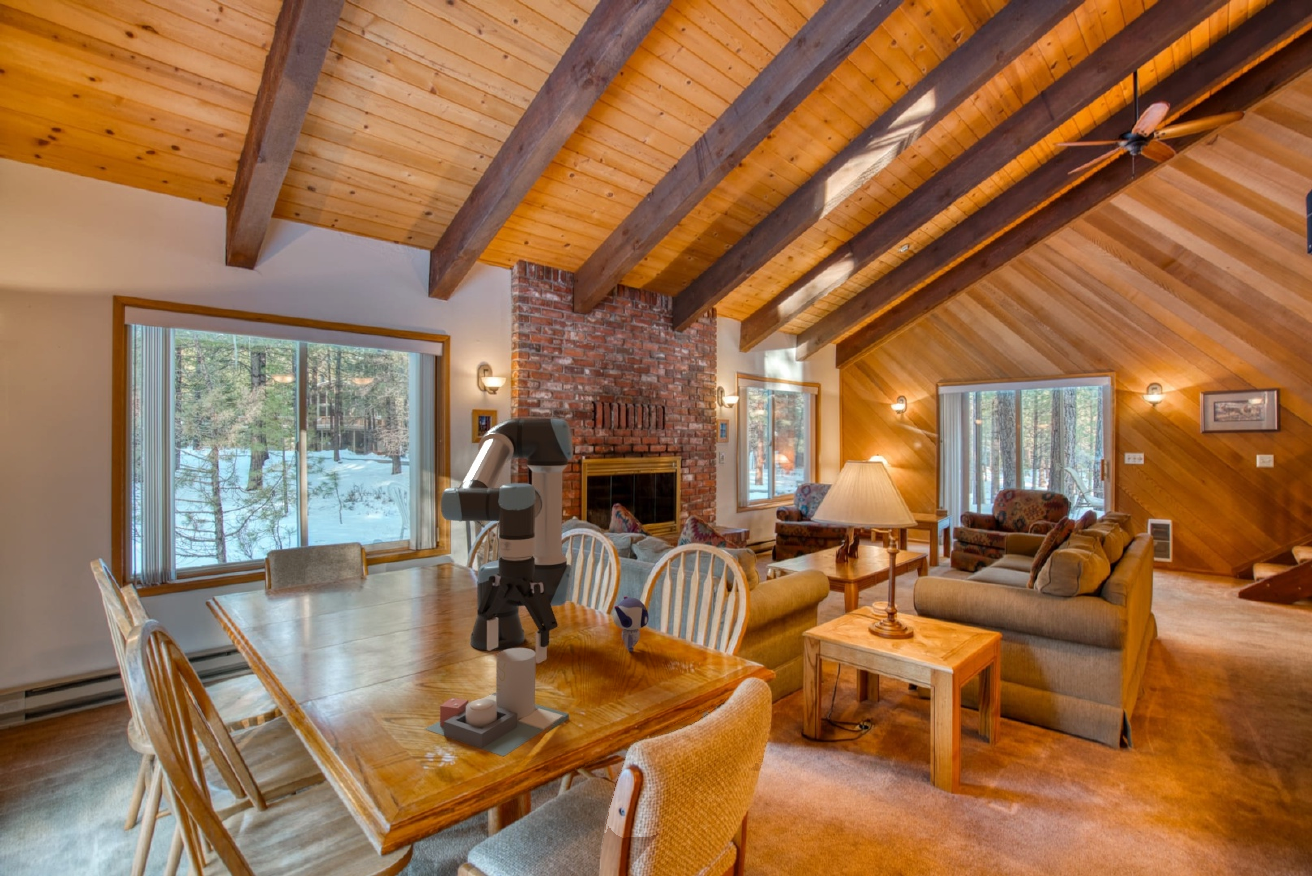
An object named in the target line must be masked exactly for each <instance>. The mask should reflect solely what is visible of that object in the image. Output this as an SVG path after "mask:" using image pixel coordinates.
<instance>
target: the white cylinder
mask: <svg viewBox="0 0 1312 876" xmlns="http://www.w3.org/2000/svg"><path fill="white" fill-rule="evenodd" d="M495 669H496V672H495V674H496V675H495V676H496V678H495V680H496V681H495V682H496V683H495V684H496V685H495V693H496V703H497V707H499V708H502V709H505V710H508V711H512V712H515V713H517V719H519V718H523V717H526V716H529V715H531V714H532V713H533V712H534V711H535V704H536V650H533V649H531V648H526V647H513V648H510V649H504V650H500V651H499V652H498V653H497V654H496V668H495Z"/></svg>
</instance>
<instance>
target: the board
mask: <svg viewBox="0 0 1312 876" xmlns="http://www.w3.org/2000/svg"><path fill="white" fill-rule="evenodd" d="M481 699H491V700H494V701H496V692H494V693H492V694H489V695H486V696H485V697H483V698H481ZM569 719H570V713H567V712H564V711H561V710H556V709H554V708H550V707H546V706H543V705H540V704H537V703H535V711H534V712H533V713H532V714H531V715H529V716H526V717H523V718H519V719H517V713H515V712H512V711H508V710H505V709H502V708H499V707H497V720H496V721H494V722H493V723H491V724H489V725H487V726H486V727H484V728H482V729H481V728H478V727H475V726H472V725H469V724H466V710H465V711H463V712H461V713H459V714H457V715H456V716H454V717H452V718H450V719H448V720H446V721H444V726H440V720H439V721H437V722H435V723H432V724H431V725H430V726H429V725H428V726H427V727H426V728H424V730H426V731H429V732H432V733H435V734H437V735H441V736H444V737H446V738H449V739H451V740H454V741H458V742H461V743H464V744H467V745H468V746H472V747H475V748H478V749H480V750H484V751H486V752H489V753H493V754H494V755H497V756H501V757H505V756H507V755H509V754H510V753H512V752H513V751H515V750H516V749H518V748H520V747H521V746H522V745H523V744H525V743H527V742H528V741H530V740H531V739H533V738H535V737H536V736H537V735H539V734H540V733H542V732H543V731H545V730H546V729H548V728H549V729H548V730H547V732H546V734H548V733H549V732H550V731H552V730H554V729H555V728H557V727H558V726H560V725H561V724H563V723H565V722H566V721H567V720H569Z"/></svg>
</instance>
